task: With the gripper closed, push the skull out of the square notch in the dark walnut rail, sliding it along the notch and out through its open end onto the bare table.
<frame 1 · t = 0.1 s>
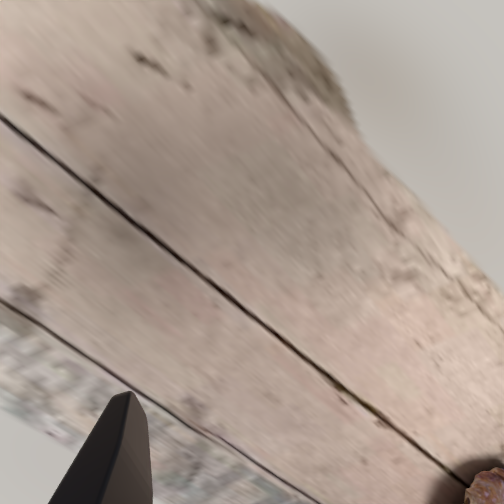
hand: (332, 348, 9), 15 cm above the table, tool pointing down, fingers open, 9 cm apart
skull: (488, 502, 34), on the table
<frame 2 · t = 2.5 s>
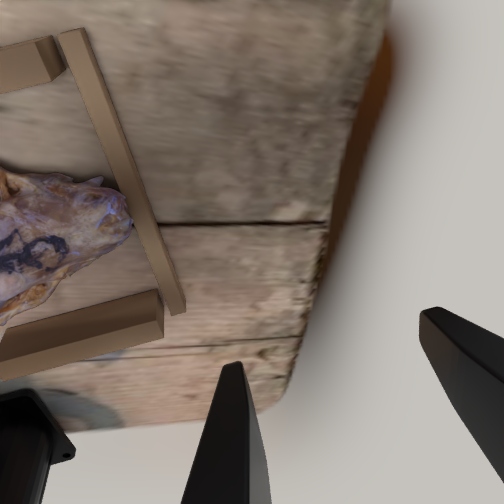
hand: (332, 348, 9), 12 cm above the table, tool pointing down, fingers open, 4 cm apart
rail notch: (44, 215, 19), on the table
skull: (5, 227, 20), on the table
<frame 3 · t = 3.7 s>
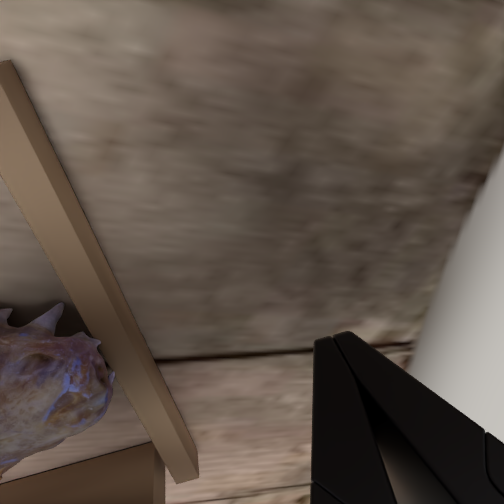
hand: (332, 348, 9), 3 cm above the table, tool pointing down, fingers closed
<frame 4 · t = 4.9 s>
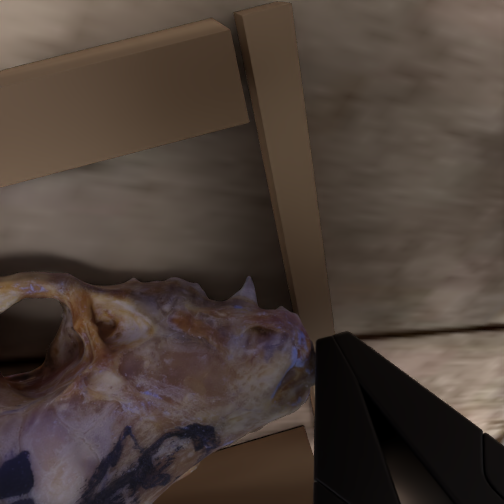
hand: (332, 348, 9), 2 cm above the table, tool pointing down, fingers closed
rail notch: (149, 337, 11), on the table
skull: (75, 360, 11), on the table, touching gripper
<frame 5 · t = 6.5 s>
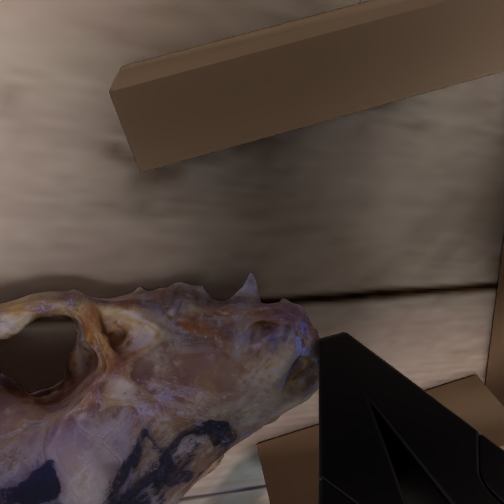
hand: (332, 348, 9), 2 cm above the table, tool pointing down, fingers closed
rail notch: (375, 279, 12), on the table
skull: (96, 372, 12), on the table, touching gripper
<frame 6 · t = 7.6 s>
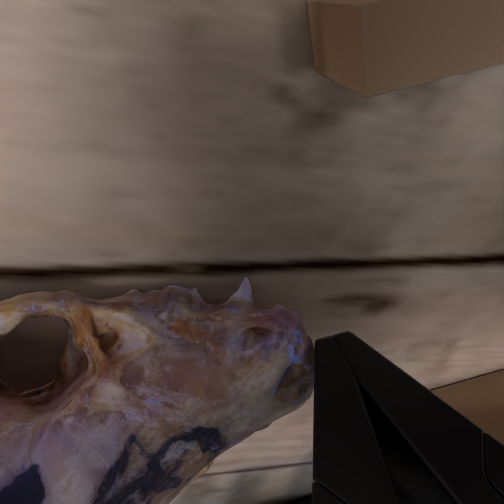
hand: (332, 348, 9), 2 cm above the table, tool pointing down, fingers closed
rail notch: (501, 242, 11), on the table
skull: (88, 371, 12), on the table, touching gripper
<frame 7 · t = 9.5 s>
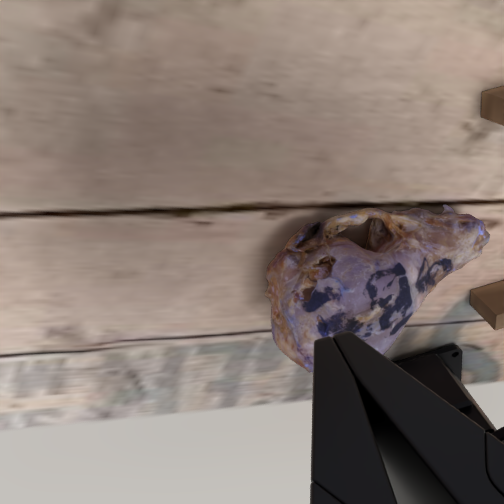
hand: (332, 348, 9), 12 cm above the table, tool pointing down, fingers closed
skull: (358, 256, 24), on the table
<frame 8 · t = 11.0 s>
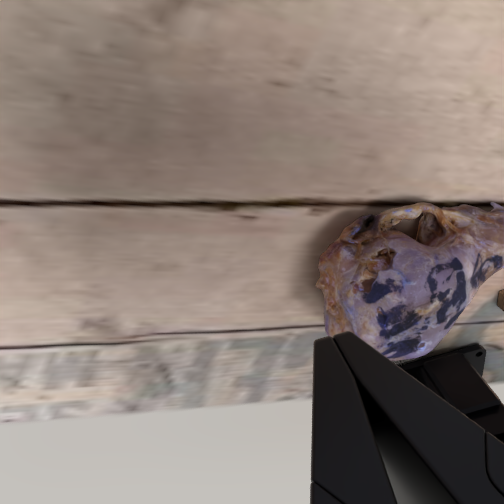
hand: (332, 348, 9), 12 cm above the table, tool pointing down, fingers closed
skull: (402, 251, 24), on the table
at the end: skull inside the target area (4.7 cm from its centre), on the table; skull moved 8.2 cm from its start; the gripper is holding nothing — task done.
